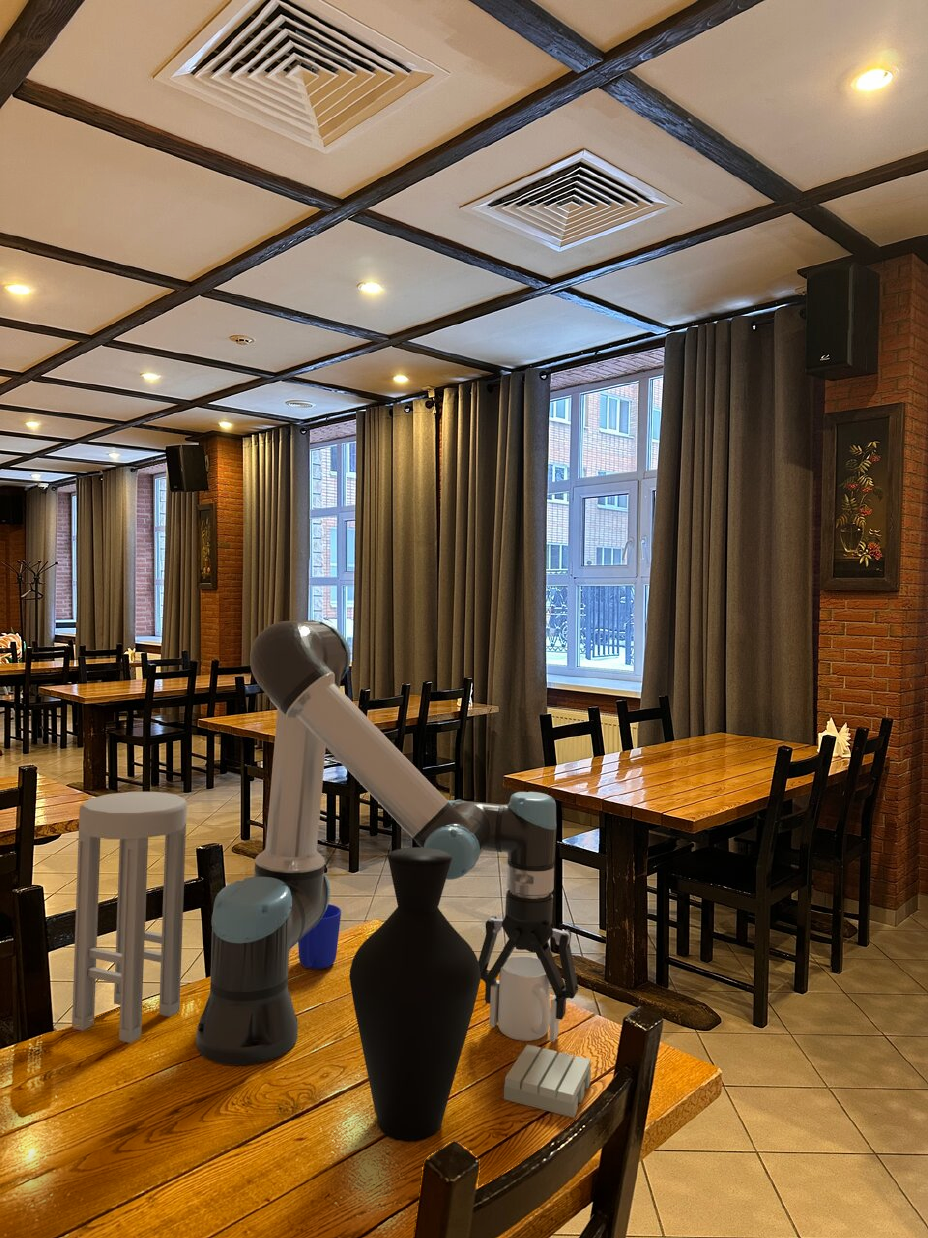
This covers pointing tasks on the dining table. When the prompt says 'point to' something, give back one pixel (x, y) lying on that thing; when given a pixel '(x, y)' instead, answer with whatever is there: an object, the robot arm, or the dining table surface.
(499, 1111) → the dining table surface
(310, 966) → the mug
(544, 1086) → the block
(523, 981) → the mug
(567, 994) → the robot arm
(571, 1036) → the dining table surface
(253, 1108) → the dining table surface
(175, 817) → the stool
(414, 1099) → the vase
